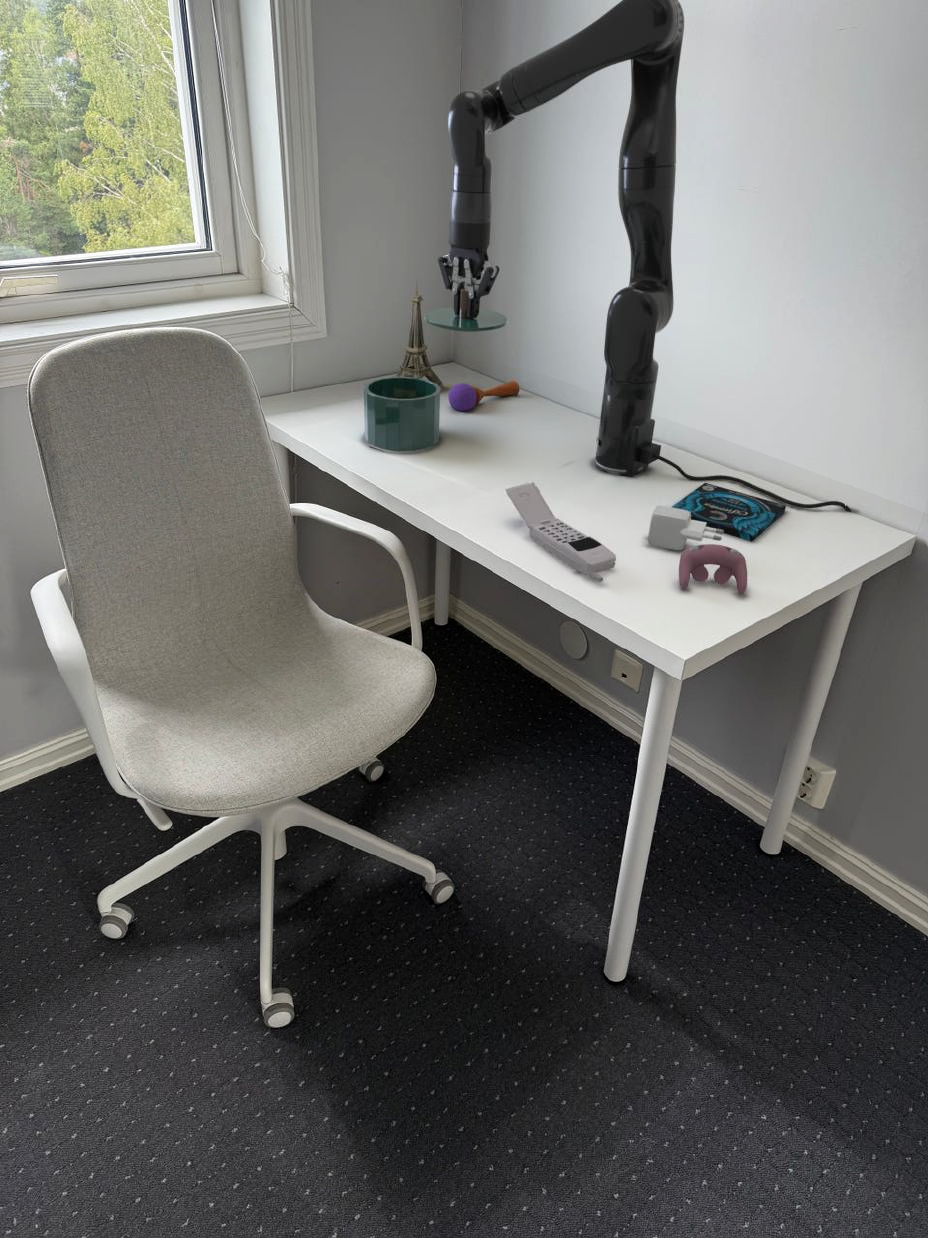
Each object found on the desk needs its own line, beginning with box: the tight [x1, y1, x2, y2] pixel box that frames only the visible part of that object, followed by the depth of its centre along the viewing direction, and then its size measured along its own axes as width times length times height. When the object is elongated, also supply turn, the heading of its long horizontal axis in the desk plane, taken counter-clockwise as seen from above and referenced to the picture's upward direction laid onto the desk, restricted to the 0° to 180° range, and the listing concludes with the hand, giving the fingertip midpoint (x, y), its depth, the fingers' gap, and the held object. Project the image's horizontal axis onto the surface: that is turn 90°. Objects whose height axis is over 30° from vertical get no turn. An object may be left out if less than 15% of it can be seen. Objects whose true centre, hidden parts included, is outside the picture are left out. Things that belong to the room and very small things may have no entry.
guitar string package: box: [671, 482, 787, 543], centre depth 156 cm, size 15×1×15 cm
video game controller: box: [678, 543, 748, 595], centre depth 134 cm, size 10×5×7 cm, turn 84°
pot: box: [363, 376, 441, 453], centre depth 178 cm, size 15×15×10 cm
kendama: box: [448, 380, 521, 412], centre depth 200 cm, size 6×6×20 cm
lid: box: [423, 287, 508, 333], centre depth 172 cm, size 16×16×6 cm
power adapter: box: [647, 505, 725, 551], centre depth 143 cm, size 11×5×6 cm, turn 69°
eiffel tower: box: [394, 278, 448, 392], centre depth 202 cm, size 11×11×25 cm
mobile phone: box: [504, 482, 617, 583], centre depth 142 cm, size 6×6×25 cm
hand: (465, 315), depth 173 cm, fingers closed on lid, 2 cm apart
